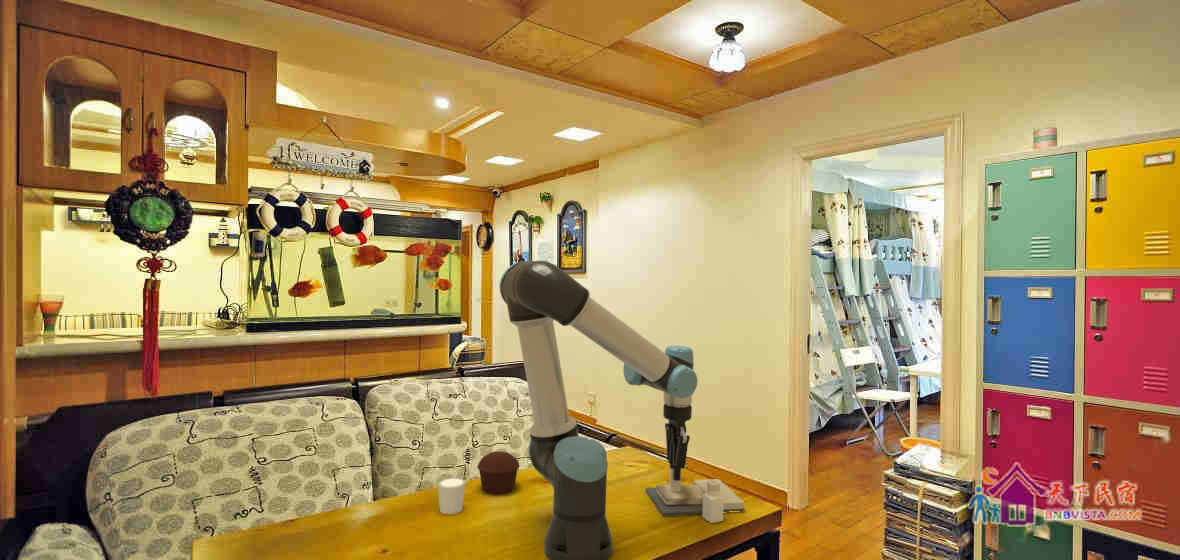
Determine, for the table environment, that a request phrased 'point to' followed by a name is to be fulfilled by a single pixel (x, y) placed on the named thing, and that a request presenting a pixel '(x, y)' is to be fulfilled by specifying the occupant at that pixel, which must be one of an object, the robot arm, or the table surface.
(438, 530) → the table surface
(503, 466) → the muffin
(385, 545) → the table surface
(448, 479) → the white tapered cylinder
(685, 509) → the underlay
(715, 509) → the salt shaker
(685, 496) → the plank
